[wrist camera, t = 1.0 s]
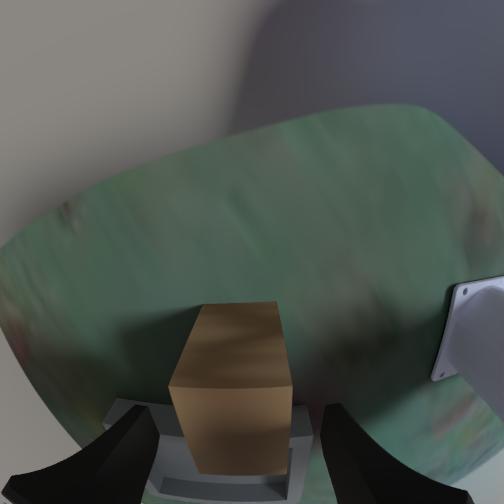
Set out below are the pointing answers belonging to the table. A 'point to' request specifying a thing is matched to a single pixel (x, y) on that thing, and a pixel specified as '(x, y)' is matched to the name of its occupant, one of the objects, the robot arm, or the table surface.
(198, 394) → the walnut block
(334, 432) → the robot arm
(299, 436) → the tray
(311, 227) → the table surface
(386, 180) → the table surface
